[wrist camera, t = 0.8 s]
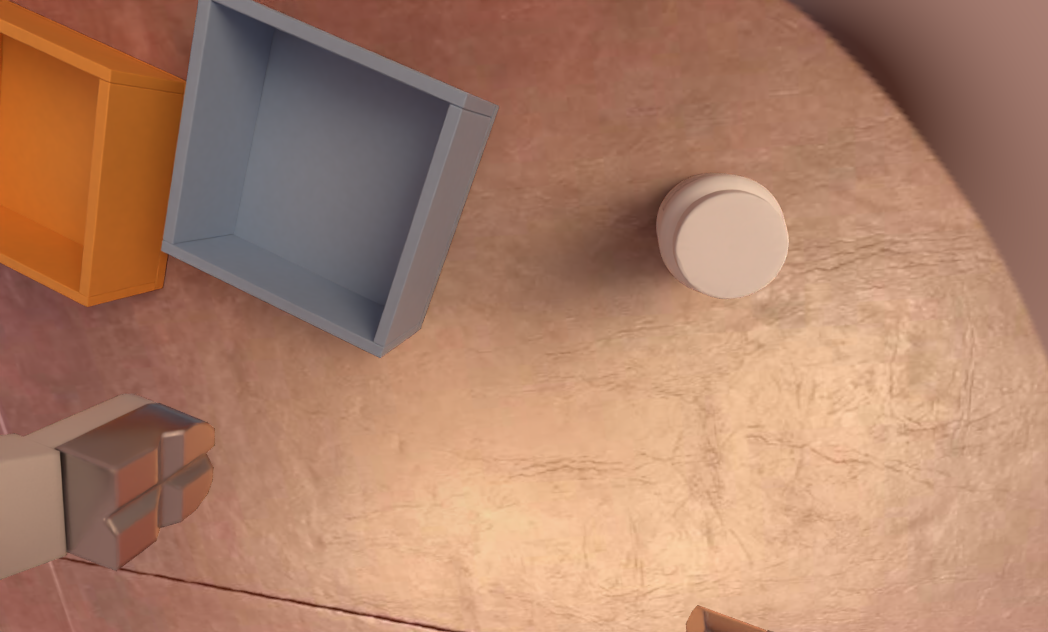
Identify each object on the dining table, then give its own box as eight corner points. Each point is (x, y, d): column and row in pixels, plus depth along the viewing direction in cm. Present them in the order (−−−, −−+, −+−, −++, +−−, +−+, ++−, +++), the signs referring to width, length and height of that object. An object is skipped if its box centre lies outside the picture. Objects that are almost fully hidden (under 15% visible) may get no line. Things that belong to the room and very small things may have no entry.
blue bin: (276, 10, 26) (200, -22, 21) (499, 106, 24) (467, 93, 20) (231, 238, 30) (160, 250, 25) (420, 329, 28) (380, 358, 24)
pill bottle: (750, 272, 24) (795, 319, 17) (652, 267, 25) (653, 308, 18) (764, 173, 23) (819, 177, 15) (660, 171, 24) (666, 173, 16)
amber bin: (8, 0, 29) (-105, -30, 24) (194, 84, 28) (111, 69, 23) (1, 207, 33) (-97, 213, 28) (163, 288, 32) (86, 307, 27)
